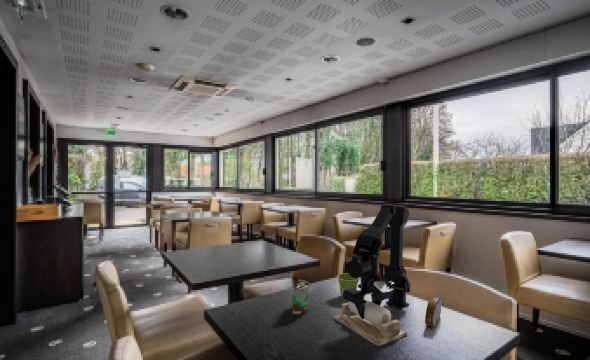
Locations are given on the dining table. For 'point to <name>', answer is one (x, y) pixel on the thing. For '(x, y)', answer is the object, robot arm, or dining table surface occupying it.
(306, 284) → the food container
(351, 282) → the plant pot
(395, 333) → the holder
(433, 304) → the tin
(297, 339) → the dining table surface
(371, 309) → the paper roll
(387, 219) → the robot arm
